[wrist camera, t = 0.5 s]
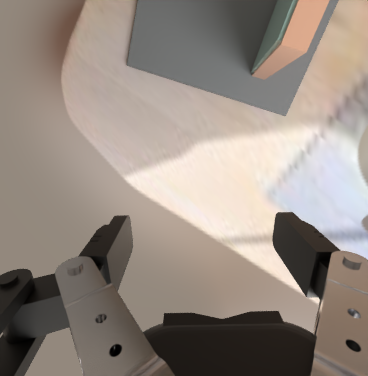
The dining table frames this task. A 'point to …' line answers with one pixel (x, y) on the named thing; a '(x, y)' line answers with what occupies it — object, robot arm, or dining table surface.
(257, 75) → the glazed tile
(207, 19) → the mat
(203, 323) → the robot arm
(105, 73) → the dining table surface
